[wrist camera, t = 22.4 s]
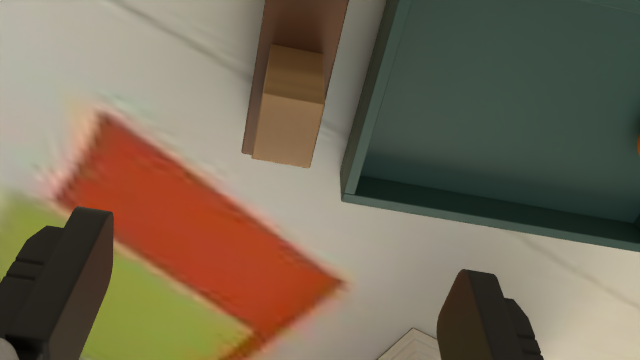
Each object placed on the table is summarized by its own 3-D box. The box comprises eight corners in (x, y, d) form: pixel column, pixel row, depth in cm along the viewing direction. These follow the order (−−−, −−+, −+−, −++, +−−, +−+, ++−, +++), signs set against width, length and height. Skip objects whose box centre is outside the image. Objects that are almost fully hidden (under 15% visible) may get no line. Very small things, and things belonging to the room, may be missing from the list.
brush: (273, -45, 27) (260, 12, 21) (348, -29, 28) (357, 32, 21) (247, 124, 32) (228, 214, 26) (310, 136, 33) (308, 227, 26)
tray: (405, -67, 27) (413, -52, 24) (765, 15, 29) (804, 35, 27) (339, 173, 34) (341, 202, 32) (631, 224, 36) (653, 254, 34)
